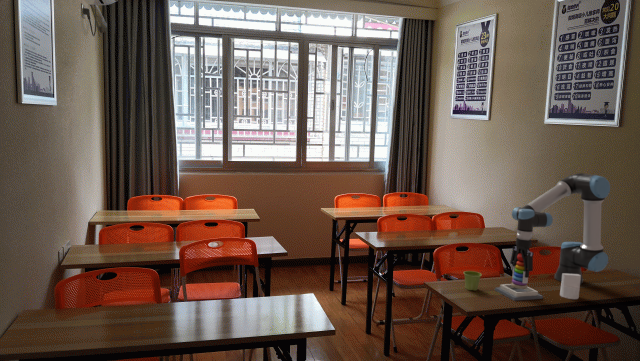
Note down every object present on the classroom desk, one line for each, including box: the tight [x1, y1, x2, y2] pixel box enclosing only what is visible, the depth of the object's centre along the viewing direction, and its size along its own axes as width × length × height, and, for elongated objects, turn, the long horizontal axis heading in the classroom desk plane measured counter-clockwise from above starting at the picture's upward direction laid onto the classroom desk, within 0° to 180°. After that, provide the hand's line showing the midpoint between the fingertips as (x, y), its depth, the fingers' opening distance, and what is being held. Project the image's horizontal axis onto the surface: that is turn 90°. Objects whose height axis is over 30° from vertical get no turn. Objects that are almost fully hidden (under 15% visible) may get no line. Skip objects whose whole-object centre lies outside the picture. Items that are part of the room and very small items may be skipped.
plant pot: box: [463, 270, 483, 292], centre depth 277 cm, size 9×9×9 cm
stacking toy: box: [510, 253, 528, 289], centre depth 271 cm, size 8×8×19 cm
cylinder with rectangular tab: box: [559, 273, 581, 300], centre depth 274 cm, size 9×9×12 cm
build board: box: [494, 283, 544, 302], centre depth 273 cm, size 18×16×4 cm
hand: (519, 280), depth 272 cm, fingers closed on stacking toy, 7 cm apart
